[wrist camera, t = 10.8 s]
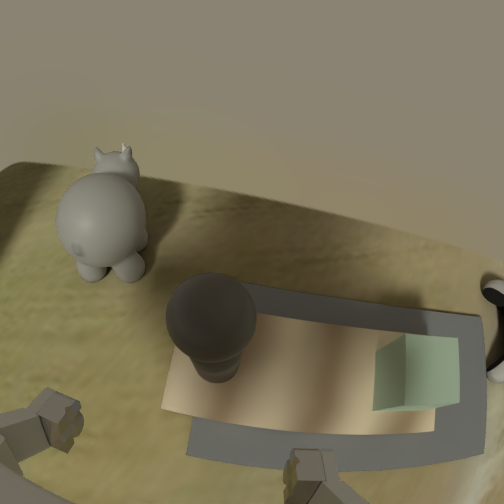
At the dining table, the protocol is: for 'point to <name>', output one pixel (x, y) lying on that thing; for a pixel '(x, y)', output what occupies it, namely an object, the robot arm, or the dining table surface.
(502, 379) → the gaming controller
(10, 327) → the dining table surface
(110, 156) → the round bodied animal figurine
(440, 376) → the sage cube
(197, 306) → the peg stand
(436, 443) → the mat
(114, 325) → the dining table surface
